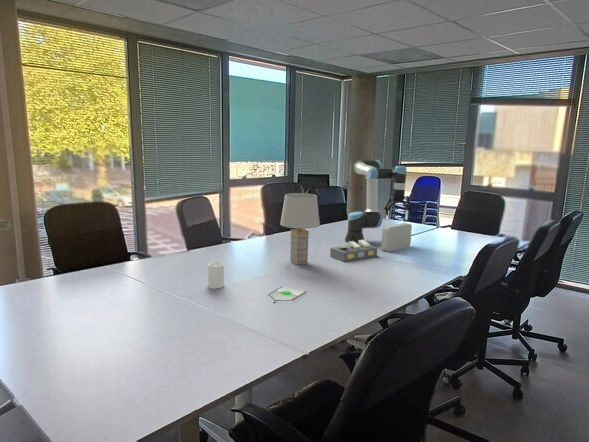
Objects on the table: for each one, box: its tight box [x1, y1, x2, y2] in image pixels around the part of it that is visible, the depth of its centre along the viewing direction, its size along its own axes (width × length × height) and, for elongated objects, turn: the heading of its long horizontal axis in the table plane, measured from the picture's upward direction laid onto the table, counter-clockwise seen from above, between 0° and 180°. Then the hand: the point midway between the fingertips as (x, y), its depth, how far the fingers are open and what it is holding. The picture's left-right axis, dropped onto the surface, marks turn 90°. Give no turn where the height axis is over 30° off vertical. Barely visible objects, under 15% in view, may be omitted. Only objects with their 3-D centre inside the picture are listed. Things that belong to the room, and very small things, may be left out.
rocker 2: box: [347, 241, 361, 249], centre depth 282 cm, size 8×4×2 cm, turn 33°
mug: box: [207, 261, 225, 290], centre depth 218 cm, size 12×8×12 cm
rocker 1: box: [337, 244, 351, 248], centre depth 278 cm, size 8×4×2 cm, turn 33°
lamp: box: [279, 192, 321, 265], centre depth 262 cm, size 25×25×44 cm
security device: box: [266, 285, 308, 302], centre depth 205 cm, size 17×22×2 cm
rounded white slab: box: [380, 222, 412, 253], centre depth 308 cm, size 29×8×18 cm, turn 129°
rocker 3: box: [357, 239, 371, 248], centre depth 287 cm, size 8×4×2 cm, turn 33°
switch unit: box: [329, 243, 378, 263], centre depth 283 cm, size 15×30×7 cm, turn 123°
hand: (396, 219), depth 284 cm, fingers open, 13 cm apart
